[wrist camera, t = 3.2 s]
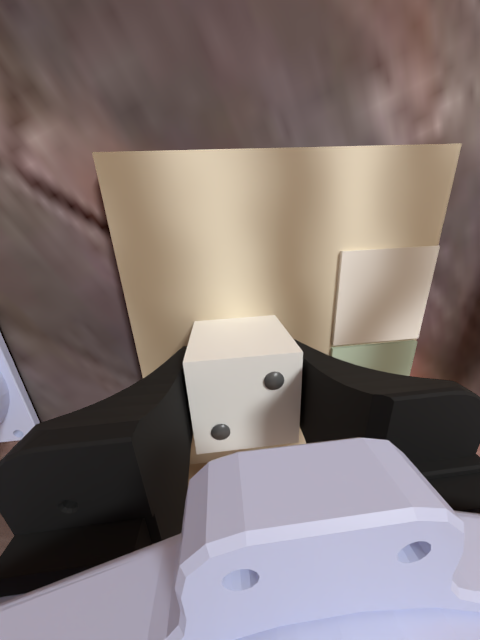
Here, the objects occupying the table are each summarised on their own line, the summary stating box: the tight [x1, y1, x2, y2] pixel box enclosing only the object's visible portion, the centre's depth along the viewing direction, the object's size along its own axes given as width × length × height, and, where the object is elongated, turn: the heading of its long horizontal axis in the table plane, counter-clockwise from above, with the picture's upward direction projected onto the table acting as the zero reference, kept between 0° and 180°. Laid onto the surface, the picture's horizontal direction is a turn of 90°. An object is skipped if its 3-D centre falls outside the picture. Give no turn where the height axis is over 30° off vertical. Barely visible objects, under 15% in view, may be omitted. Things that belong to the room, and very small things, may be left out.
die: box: [183, 315, 303, 454], centre depth 10 cm, size 4×4×4 cm
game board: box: [92, 144, 462, 485], centre depth 13 cm, size 15×26×3 cm, turn 3°
